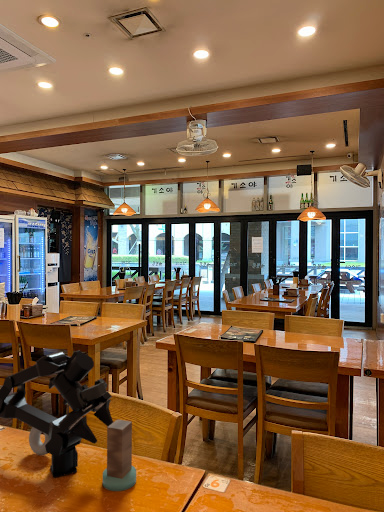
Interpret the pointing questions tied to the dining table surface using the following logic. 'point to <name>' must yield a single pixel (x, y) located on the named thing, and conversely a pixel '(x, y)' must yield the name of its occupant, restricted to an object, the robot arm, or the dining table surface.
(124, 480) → the teal base
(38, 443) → the donut
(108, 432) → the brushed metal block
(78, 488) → the dining table surface
